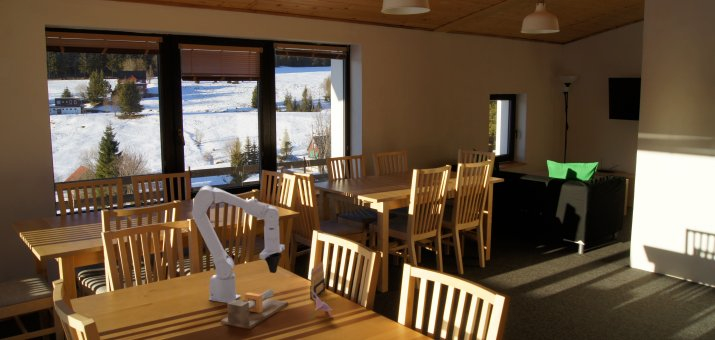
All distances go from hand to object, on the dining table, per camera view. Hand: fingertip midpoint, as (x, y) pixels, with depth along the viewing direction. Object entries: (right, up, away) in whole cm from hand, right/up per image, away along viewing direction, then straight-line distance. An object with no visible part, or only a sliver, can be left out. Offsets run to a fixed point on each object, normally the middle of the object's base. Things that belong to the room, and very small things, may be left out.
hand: (273, 272), depth 230 cm
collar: (-4, -11, -17) cm, 21 cm away
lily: (+20, -12, -20) cm, 31 cm away
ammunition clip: (+17, -9, +2) cm, 20 cm away
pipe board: (-4, -12, -16) cm, 21 cm away
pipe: (-4, -9, -16) cm, 19 cm away
